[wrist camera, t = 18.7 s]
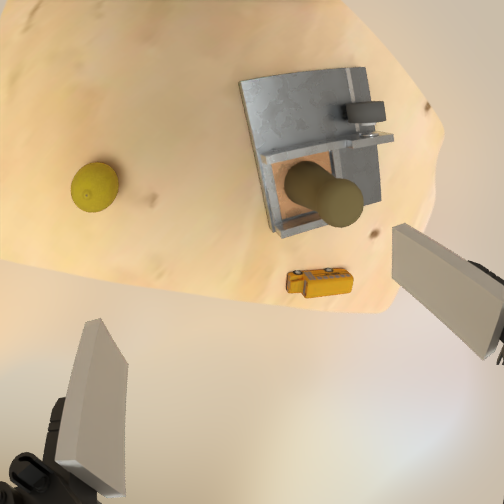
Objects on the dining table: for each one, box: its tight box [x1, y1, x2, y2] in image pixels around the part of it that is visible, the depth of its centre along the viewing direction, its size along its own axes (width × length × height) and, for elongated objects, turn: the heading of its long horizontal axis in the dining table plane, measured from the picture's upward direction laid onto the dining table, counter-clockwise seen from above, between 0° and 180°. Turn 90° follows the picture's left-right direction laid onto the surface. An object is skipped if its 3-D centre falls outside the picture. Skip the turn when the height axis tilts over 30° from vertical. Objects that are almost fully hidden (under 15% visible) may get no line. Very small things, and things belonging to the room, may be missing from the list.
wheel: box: [346, 101, 386, 126], centre depth 35 cm, size 3×5×5 cm, turn 102°
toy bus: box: [286, 268, 354, 298], centre depth 48 cm, size 3×10×4 cm, turn 87°
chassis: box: [238, 67, 394, 238], centre depth 38 cm, size 20×18×6 cm
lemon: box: [71, 162, 119, 212], centre depth 32 cm, size 6×6×8 cm
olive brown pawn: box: [284, 161, 364, 228], centre depth 35 cm, size 6×6×11 cm
